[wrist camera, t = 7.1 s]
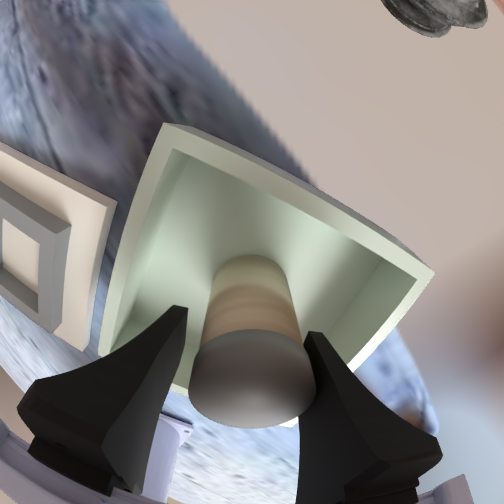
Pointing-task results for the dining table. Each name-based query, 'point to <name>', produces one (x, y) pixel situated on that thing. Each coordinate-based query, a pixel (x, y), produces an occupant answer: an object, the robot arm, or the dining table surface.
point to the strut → (251, 349)
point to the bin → (251, 250)
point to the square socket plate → (51, 245)
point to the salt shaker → (438, 14)
